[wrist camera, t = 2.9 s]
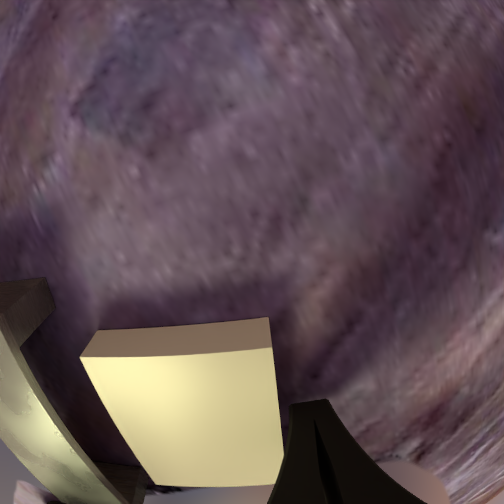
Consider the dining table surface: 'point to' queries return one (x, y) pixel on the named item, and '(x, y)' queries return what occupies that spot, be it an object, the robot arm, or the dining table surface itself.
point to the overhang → (49, 414)
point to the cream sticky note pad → (193, 400)
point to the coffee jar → (55, 502)
